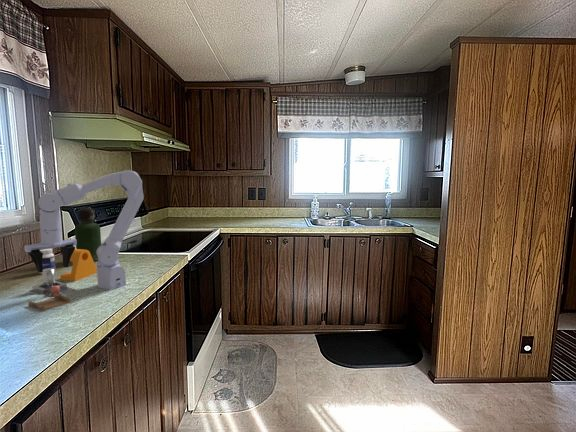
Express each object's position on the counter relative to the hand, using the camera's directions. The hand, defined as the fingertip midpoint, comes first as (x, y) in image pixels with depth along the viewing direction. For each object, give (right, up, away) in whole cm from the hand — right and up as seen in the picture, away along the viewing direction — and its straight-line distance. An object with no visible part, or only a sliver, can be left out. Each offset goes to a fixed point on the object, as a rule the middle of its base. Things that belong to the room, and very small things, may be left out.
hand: (53, 269), depth 109 cm
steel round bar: (-5, -8, +6) cm, 11 cm away
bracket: (-4, -7, +20) cm, 22 cm away
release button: (0, -8, +1) cm, 9 cm away
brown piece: (+4, -11, -8) cm, 14 cm away
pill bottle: (-23, -6, +28) cm, 36 cm away
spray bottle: (-16, -4, +47) cm, 50 cm away
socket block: (-3, -9, +5) cm, 10 cm away
